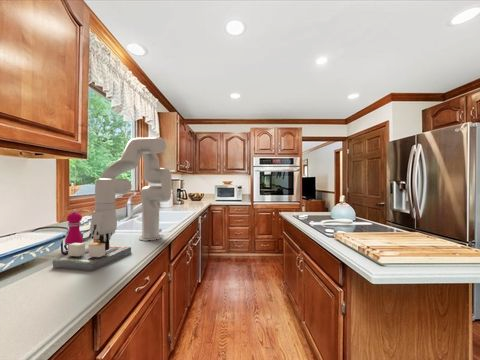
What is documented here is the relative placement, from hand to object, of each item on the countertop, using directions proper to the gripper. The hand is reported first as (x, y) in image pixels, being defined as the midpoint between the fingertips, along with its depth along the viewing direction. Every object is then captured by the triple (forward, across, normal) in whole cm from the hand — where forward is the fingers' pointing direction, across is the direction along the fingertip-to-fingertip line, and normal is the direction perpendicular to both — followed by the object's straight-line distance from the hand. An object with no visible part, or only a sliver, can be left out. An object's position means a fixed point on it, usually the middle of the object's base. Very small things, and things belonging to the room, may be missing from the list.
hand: (104, 249), depth 95 cm
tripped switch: (+1, +4, 0) cm, 4 cm away
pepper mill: (+5, -10, -26) cm, 29 cm away
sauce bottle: (+5, -22, -22) cm, 32 cm away
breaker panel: (+5, 0, -4) cm, 7 cm away
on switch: (+1, +5, -9) cm, 10 cm away
